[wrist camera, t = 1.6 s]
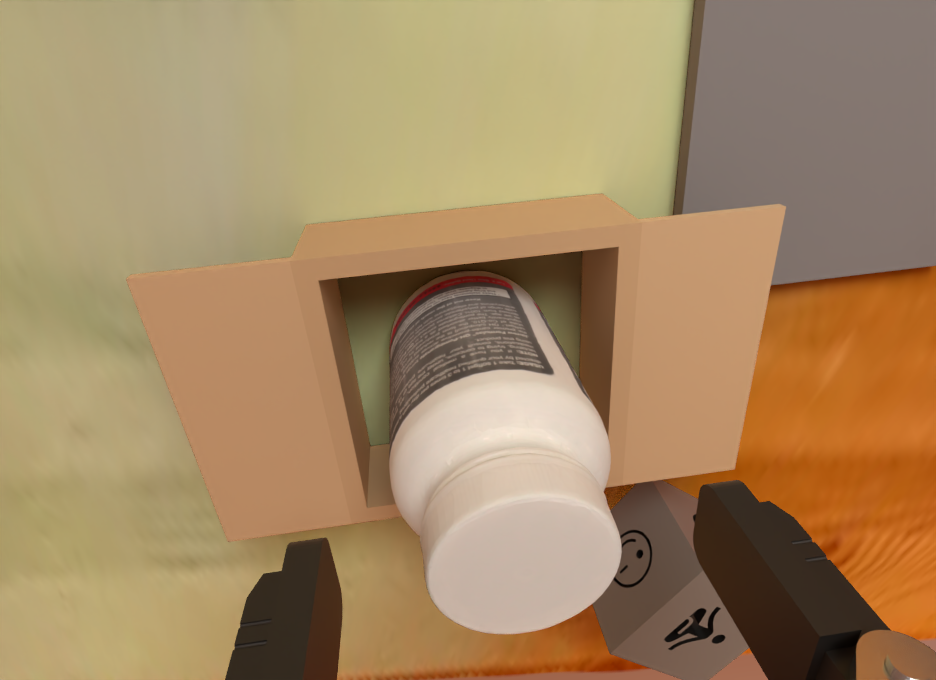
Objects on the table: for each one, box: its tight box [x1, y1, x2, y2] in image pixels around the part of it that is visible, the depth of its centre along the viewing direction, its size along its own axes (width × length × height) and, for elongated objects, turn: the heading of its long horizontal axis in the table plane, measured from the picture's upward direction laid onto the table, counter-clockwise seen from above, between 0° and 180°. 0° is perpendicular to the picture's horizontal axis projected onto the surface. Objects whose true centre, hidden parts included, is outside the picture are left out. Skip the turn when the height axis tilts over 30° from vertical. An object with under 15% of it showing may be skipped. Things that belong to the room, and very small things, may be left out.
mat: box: [673, 0, 936, 285], centre depth 17 cm, size 10×10×1 cm
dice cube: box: [592, 480, 749, 680], centre depth 23 cm, size 5×5×5 cm
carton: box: [126, 194, 786, 542], centre depth 18 cm, size 9×17×3 cm, turn 94°
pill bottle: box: [389, 271, 622, 634], centre depth 15 cm, size 5×5×10 cm
